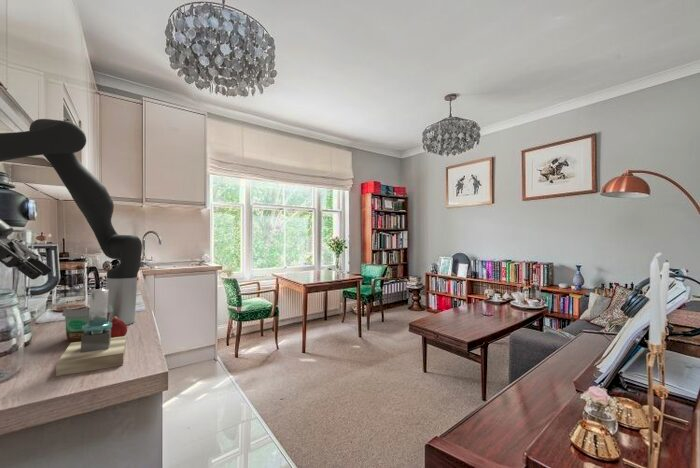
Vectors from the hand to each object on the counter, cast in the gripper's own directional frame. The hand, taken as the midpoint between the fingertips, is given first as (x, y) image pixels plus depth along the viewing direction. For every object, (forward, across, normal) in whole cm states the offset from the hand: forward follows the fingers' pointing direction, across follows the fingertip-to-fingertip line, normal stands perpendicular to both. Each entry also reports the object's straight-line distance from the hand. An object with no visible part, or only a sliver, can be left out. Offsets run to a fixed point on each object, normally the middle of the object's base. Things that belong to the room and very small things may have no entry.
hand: (43, 275), depth 71 cm
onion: (+26, +13, +6) cm, 29 cm away
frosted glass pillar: (+21, 0, +6) cm, 22 cm away
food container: (+20, +21, +12) cm, 31 cm away
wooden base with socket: (+23, 0, +8) cm, 25 cm away
